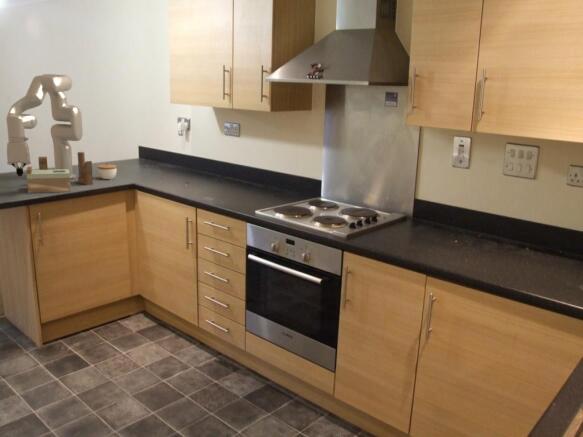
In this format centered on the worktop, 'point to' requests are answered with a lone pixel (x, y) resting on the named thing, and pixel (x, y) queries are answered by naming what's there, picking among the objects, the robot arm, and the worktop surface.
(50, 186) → the base
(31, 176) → the toolbox lid
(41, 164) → the key peg
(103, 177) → the lidded jar
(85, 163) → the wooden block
